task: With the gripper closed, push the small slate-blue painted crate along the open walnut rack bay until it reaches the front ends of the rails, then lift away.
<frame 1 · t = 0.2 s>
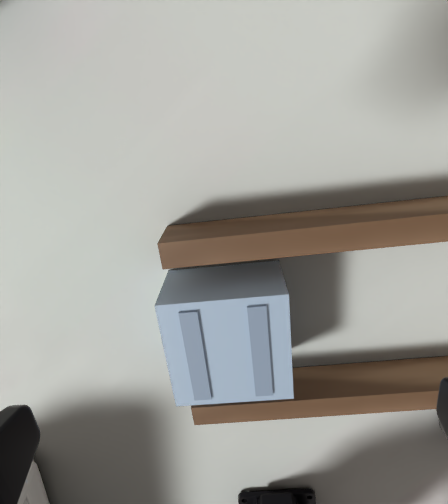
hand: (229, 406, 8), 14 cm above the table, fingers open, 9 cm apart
rack bay: (366, 300, 23), on the table
crate: (228, 311, 24), on the table
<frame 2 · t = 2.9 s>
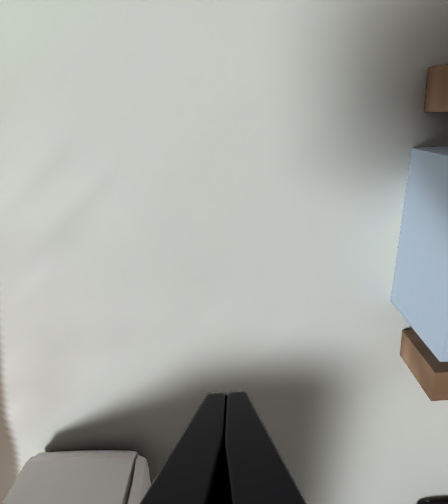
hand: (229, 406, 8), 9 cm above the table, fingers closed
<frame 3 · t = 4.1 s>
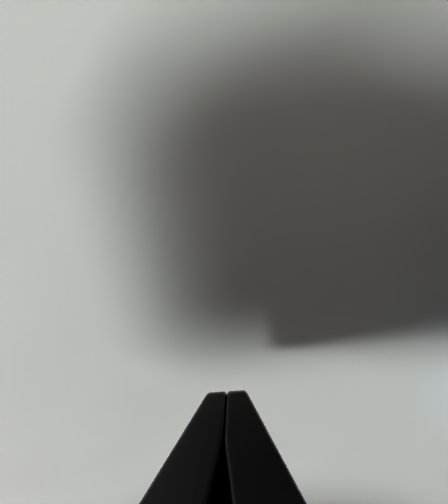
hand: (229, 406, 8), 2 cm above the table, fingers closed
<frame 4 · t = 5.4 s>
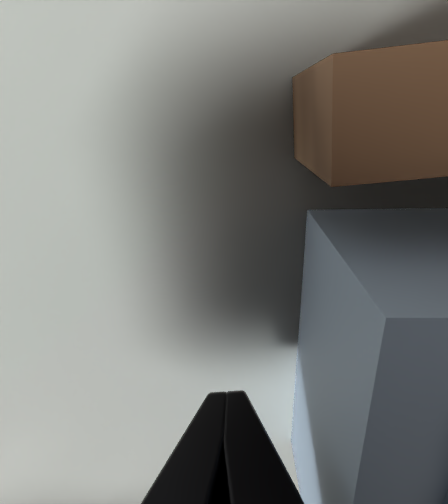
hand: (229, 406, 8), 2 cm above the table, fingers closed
crate: (433, 338, 9), on the table, touching gripper
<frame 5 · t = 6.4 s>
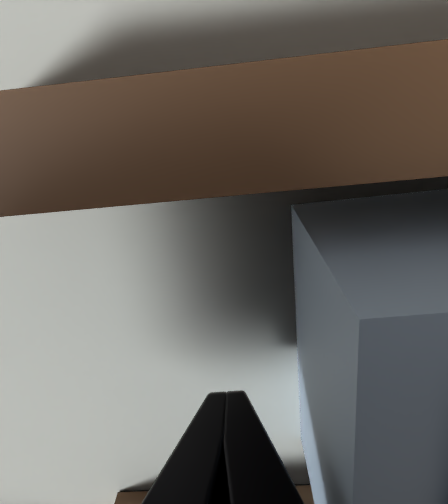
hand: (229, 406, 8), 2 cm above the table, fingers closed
crate: (438, 327, 9), on the table, touching gripper
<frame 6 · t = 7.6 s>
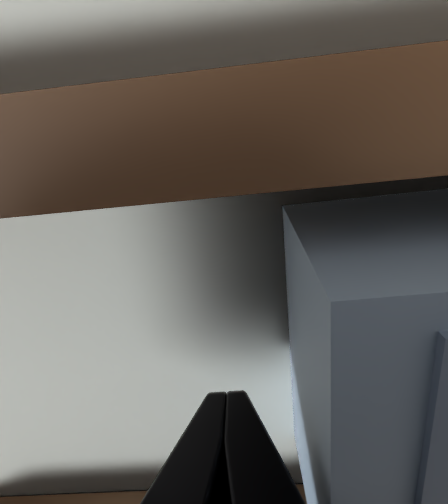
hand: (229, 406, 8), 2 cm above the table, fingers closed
rack bay: (325, 352, 9), on the table
crate: (422, 319, 9), on the table, touching gripper
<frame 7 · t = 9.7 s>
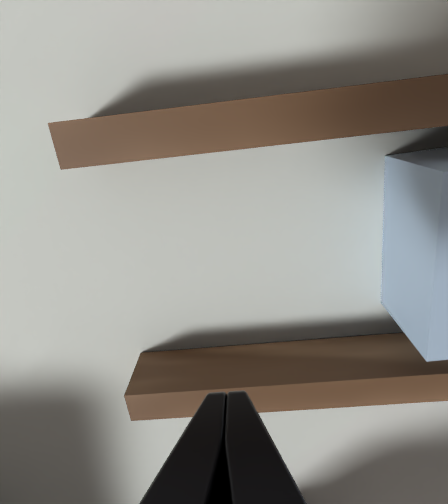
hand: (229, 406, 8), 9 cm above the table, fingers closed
rack bay: (378, 242, 16), on the table
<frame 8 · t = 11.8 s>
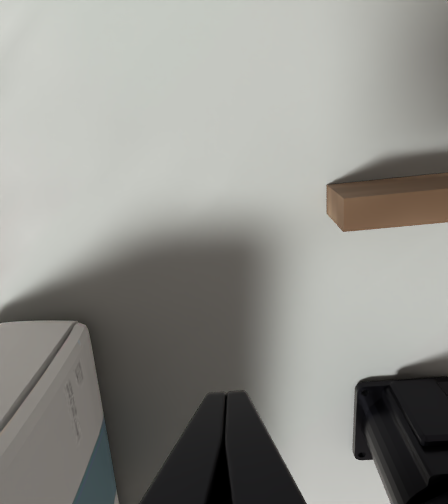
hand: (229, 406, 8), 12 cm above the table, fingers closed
stereo radio cassette player: (65, 431, 25), on the table
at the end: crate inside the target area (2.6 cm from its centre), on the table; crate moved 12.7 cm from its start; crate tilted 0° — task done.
